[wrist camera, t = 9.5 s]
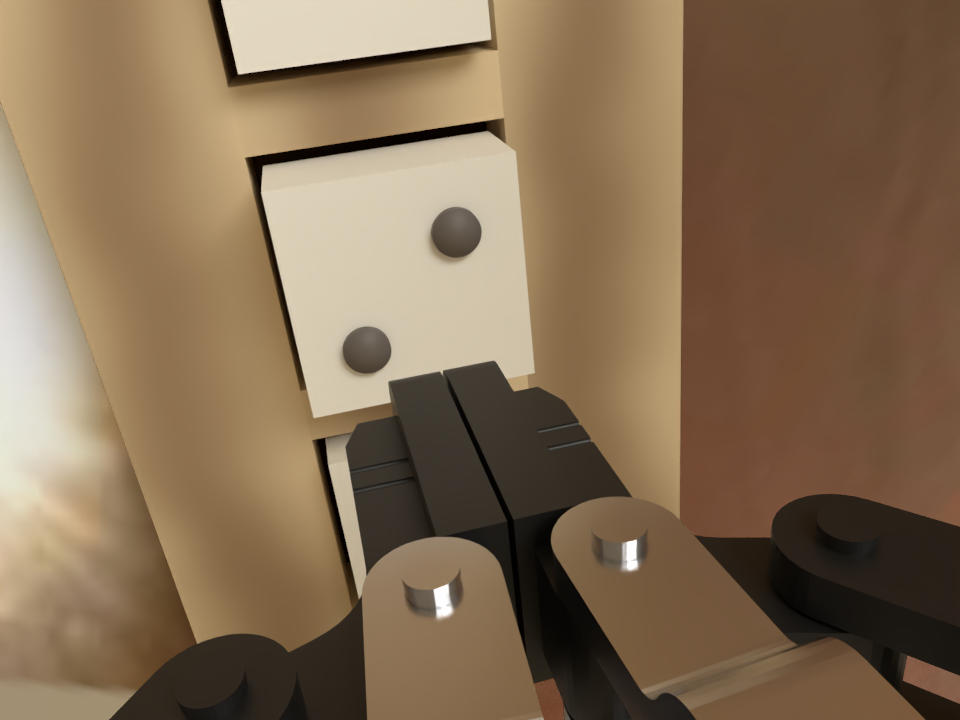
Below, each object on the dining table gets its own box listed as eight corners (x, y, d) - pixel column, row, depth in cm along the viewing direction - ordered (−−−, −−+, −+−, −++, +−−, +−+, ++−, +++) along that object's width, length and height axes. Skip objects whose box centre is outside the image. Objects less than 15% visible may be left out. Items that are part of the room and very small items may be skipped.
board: (641, -342, 16) (685, -379, 15) (652, 522, 26) (679, 561, 25) (-103, -292, 14) (-157, -331, 12) (214, 626, 24) (209, 677, 22)
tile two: (488, 130, 18) (518, 153, 16) (508, 331, 20) (537, 376, 18) (262, 165, 17) (260, 195, 15) (309, 370, 20) (313, 422, 17)
